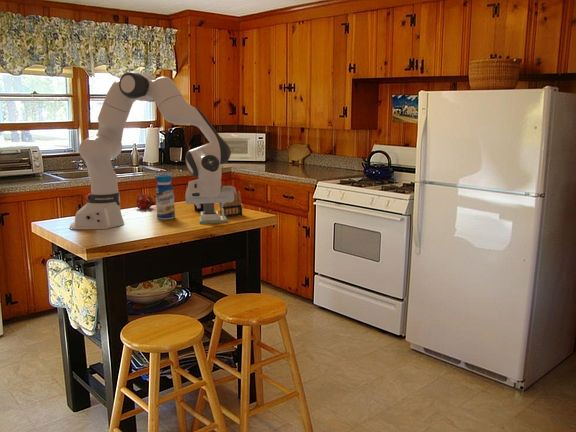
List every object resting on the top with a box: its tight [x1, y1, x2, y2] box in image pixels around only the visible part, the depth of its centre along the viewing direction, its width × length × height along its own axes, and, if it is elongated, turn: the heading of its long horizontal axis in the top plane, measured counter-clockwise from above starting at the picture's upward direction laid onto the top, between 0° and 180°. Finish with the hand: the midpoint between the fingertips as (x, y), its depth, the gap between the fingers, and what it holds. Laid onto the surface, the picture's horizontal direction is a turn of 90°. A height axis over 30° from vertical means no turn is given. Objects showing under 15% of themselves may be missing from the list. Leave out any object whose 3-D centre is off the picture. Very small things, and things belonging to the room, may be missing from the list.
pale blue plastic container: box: [198, 208, 228, 225], centre depth 249 cm, size 12×10×5 cm
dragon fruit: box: [135, 192, 156, 211], centre depth 281 cm, size 8×8×12 cm
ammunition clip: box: [219, 190, 243, 218], centre depth 259 cm, size 11×2×12 cm, turn 123°
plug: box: [203, 203, 215, 215], centre depth 248 cm, size 4×4×9 cm
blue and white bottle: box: [154, 173, 176, 221], centre depth 256 cm, size 8×8×20 cm
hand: (209, 206), depth 237 cm, fingers open, 8 cm apart
